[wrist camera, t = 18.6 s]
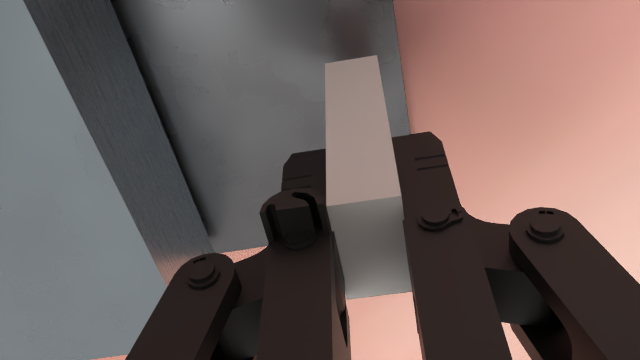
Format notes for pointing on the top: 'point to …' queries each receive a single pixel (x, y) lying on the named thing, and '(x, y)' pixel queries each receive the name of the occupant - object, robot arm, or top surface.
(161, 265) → the free jaw
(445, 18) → the top surface
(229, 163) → the vise
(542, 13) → the top surface
